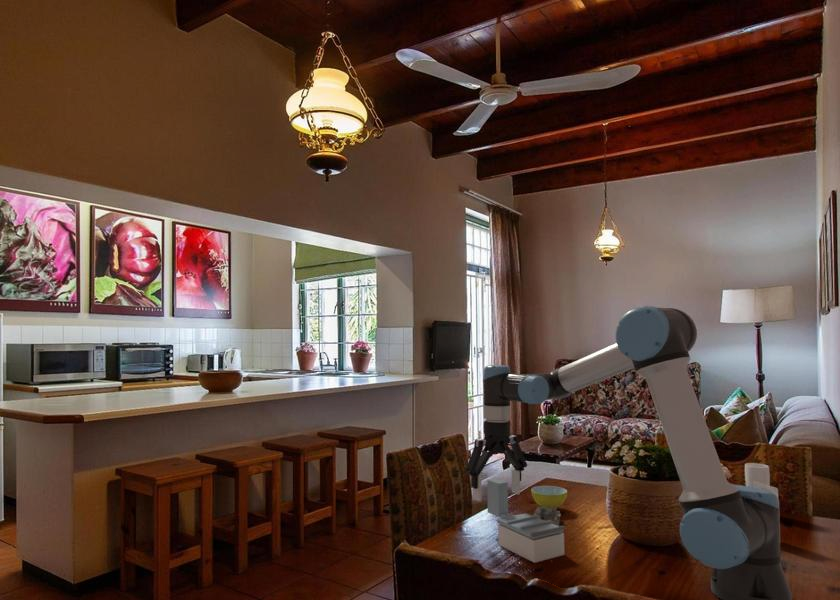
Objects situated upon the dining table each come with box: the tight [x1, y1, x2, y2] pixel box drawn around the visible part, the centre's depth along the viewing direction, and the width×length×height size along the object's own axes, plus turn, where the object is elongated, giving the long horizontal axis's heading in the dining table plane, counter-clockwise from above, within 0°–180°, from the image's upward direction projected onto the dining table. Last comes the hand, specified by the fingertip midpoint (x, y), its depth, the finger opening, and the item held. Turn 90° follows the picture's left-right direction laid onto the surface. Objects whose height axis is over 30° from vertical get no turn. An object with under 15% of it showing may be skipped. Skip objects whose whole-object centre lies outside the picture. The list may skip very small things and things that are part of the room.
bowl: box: [530, 485, 568, 512], centre depth 185 cm, size 11×12×6 cm
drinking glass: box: [744, 462, 771, 491], centre depth 181 cm, size 7×7×15 cm
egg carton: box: [532, 505, 562, 526], centre depth 171 cm, size 11×8×4 cm
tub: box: [497, 523, 565, 563], centre depth 148 cm, size 14×10×6 cm
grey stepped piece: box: [486, 477, 566, 539], centre depth 152 cm, size 23×11×9 cm, turn 31°
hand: (496, 496), depth 160 cm, fingers open, 13 cm apart
